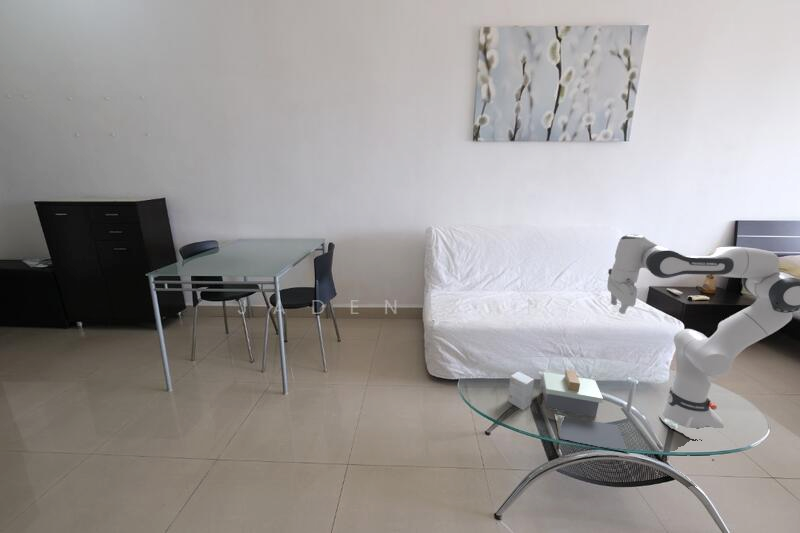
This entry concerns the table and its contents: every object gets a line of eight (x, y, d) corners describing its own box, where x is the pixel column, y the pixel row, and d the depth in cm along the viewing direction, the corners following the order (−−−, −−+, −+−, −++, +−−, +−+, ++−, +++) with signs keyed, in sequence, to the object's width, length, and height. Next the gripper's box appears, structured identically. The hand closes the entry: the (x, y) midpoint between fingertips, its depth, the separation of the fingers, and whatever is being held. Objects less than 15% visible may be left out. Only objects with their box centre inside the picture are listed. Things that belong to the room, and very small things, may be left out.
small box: (531, 404, 157) (534, 379, 153) (523, 410, 153) (526, 384, 149) (515, 395, 163) (518, 370, 159) (507, 401, 159) (510, 375, 155)
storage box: (589, 400, 161) (592, 382, 159) (595, 417, 150) (599, 398, 147) (542, 391, 166) (545, 374, 164) (545, 407, 155) (548, 389, 153)
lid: (594, 384, 160) (596, 372, 158) (602, 403, 147) (604, 390, 145) (542, 375, 165) (544, 364, 163) (545, 393, 152) (547, 380, 151)
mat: (616, 426, 145) (617, 425, 145) (628, 453, 131) (629, 452, 131) (553, 414, 151) (554, 413, 151) (559, 439, 137) (559, 438, 137)
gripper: (644, 284, 128) (636, 319, 132) (623, 269, 147) (617, 300, 151) (625, 282, 129) (618, 317, 133) (607, 268, 149) (601, 299, 152)
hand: (617, 308), depth 142 cm, fingers open, 8 cm apart
